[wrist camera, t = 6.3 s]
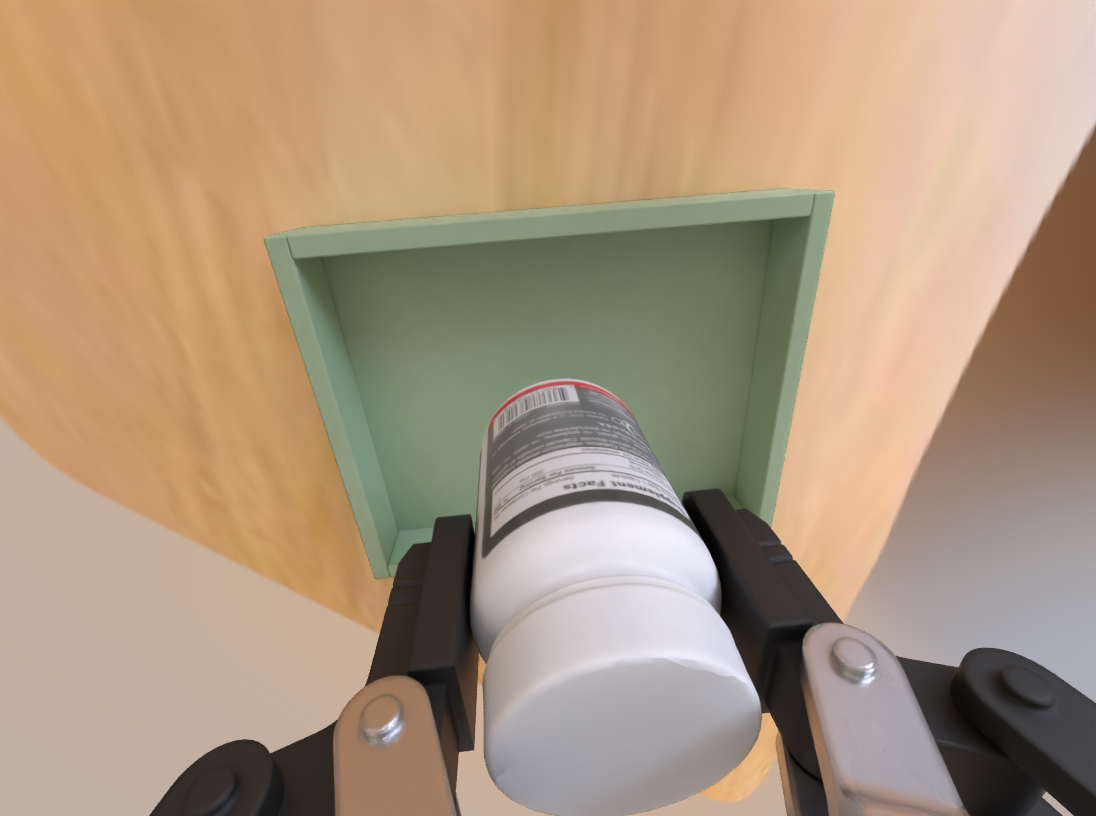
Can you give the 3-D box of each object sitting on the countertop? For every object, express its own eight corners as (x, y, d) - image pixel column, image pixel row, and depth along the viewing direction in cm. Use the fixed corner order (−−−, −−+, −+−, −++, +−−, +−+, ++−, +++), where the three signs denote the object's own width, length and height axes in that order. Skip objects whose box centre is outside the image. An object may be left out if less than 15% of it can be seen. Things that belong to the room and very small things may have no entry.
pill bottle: (603, 522, 15) (698, 843, 8) (463, 491, 14) (423, 830, 7) (663, 398, 14) (860, 668, 6) (507, 353, 13) (518, 613, 5)
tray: (389, 534, 20) (374, 580, 18) (300, 227, 14) (261, 237, 12) (741, 497, 20) (770, 537, 18) (787, 187, 15) (836, 190, 13)
